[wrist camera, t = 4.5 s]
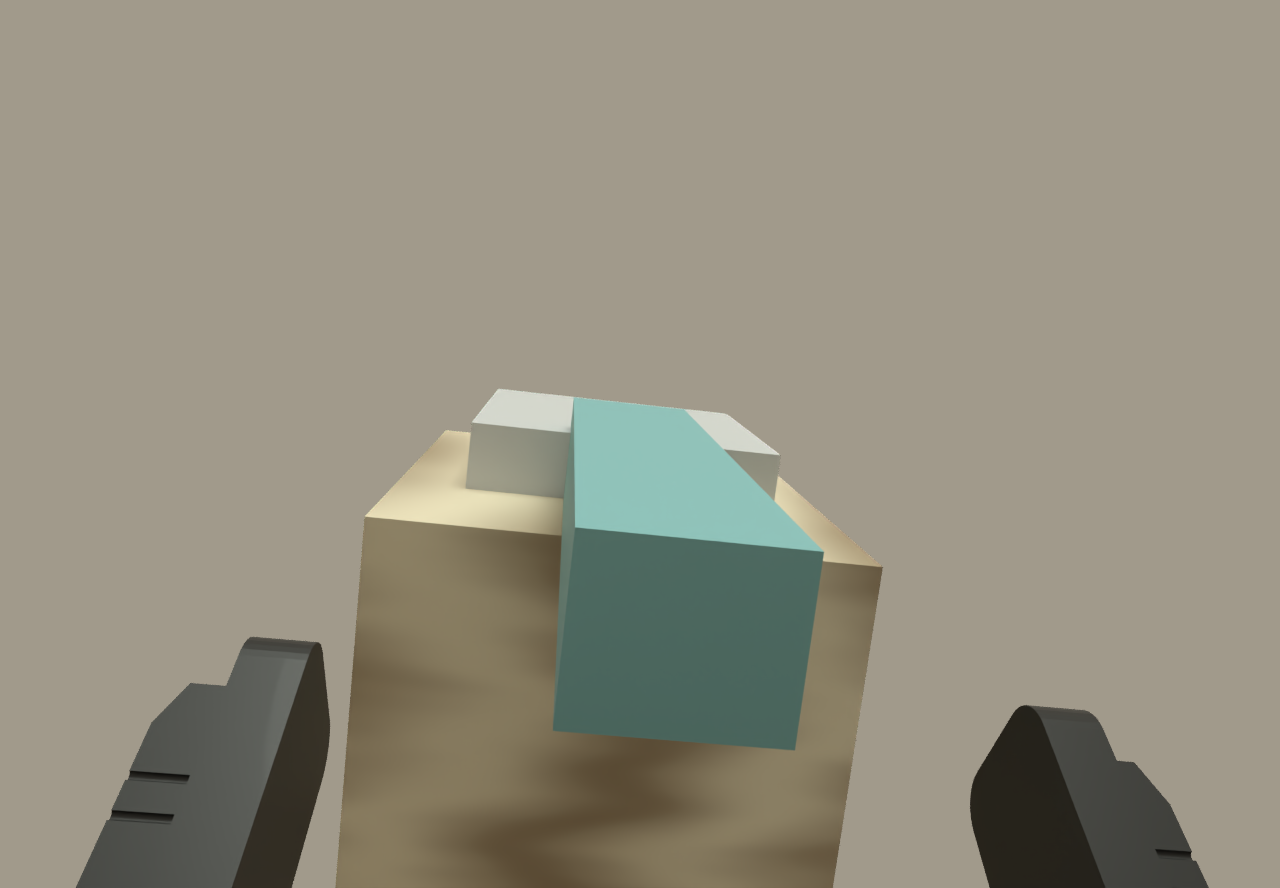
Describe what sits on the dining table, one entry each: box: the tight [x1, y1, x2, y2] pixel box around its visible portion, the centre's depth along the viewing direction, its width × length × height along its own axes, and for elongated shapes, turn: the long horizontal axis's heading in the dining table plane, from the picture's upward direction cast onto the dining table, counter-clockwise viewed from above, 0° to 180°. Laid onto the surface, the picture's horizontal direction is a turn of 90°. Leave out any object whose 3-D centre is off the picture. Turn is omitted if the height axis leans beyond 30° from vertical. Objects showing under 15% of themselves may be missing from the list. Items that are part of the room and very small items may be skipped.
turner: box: [465, 389, 824, 750], centre depth 20 cm, size 7×20×2 cm, turn 4°
